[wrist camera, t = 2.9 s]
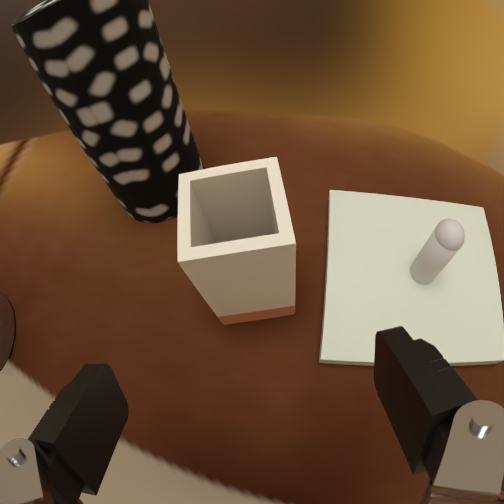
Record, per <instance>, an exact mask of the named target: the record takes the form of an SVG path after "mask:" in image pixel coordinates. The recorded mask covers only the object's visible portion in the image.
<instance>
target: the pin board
mask: <svg viewBox="0 0 504 504" xmlns="http://www.w3.org/2000/svg"><path fill="white" fill-rule="evenodd" d="M398 326H402V327H404V328H405V330H406V331H407V332H408V334H409V335H410V336H411V337H412V339H413V340H416V339H420V338H421V339H423V340H425V341H427V342H428V343H430V344H432V345H434V346H435V347H436V348H437V349H438V351H439V352H440V353H441V354H442V356H443V358H444V359H446V360H447V362H448V363H449V364H450V366H466V365H485V364H496V363H498V362H501V361H504V325H503V314H502V304H501V296H500V288H499V281H498V275H497V269H496V263H495V258H494V252H493V247H492V243H491V238H490V234H489V229H488V225H487V221H486V217H485V213H484V209H483V208H482V207H476V206H469V205H463V204H456V203H448V202H441V201H434V200H426V199H418V198H409V197H400V196H391V195H382V194H372V193H361V192H350V191H338V190H330V193H329V201H328V236H327V259H326V278H325V294H324V308H323V321H322V333H321V344H320V354H319V363H328V364H344V365H365V366H374V358H375V336H376V333H377V331H381V330H386V329H390V328H394V327H398Z"/></svg>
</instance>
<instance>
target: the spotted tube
mask: <svg viewBox="0 0 504 504" xmlns="http://www.w3.org/2000/svg"><path fill="white" fill-rule="evenodd" d="M11 27H12V29H13V31H14V33H15V35H16V37H17V38H18V40H19V42H20V44H21V46H22V48H23V50H24V51H25V53H26V55H27V57H28V59H29V61H30V62H31V64H32V66H33V68H34V70H35V71H36V73H37V75H38V77H39V78H40V80H41V82H42V83H43V85H44V87H45V88H46V90H47V92H48V93H49V95H50V97H51V99H52V100H53V102H54V104H55V105H56V107H57V109H58V110H59V112H60V113H61V115H62V116H63V118H64V120H65V122H66V123H67V125H68V126H69V128H70V129H71V131H72V133H73V134H74V136H75V137H76V139H77V140H78V142H79V143H80V145H81V146H82V148H83V150H84V151H85V153H86V154H87V156H88V157H89V159H90V160H91V162H92V163H93V165H94V166H95V168H96V169H97V170H98V172H99V173H100V175H101V176H102V178H103V179H104V181H105V182H106V184H107V185H108V186H109V188H110V189H111V191H112V192H113V194H114V195H115V196H116V198H117V199H118V201H119V202H120V203H121V205H122V206H123V208H124V209H125V210H126V212H127V213H128V214H129V215H130V216H131V217H133V218H134V219H136V220H138V221H141V222H147V223H154V222H161V221H165V220H168V219H171V218H173V217H176V216H177V215H178V184H179V174H183V173H188V172H193V171H198V170H203V169H204V168H203V165H202V162H201V159H200V156H199V153H198V150H197V147H196V145H195V142H194V139H193V136H192V133H191V130H190V127H189V124H188V121H187V118H186V115H185V112H184V109H183V106H182V103H181V100H180V97H179V94H178V91H177V88H176V85H175V82H174V79H173V76H172V73H171V70H170V67H169V64H168V61H167V58H166V55H165V52H164V49H163V45H162V42H161V39H160V36H159V33H158V30H157V27H156V24H155V20H154V17H153V14H152V11H151V8H150V5H149V1H148V0H43V1H41V2H39V3H38V4H36V5H35V6H33V7H32V8H30V9H29V10H28V11H26V12H25V13H24V14H22V15H21V16H20V17H19V18H17V19H16V20H15V21H14V22H13V23H12V24H11Z"/></svg>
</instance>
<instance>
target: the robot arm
mask: <svg viewBox="0 0 504 504" xmlns="http://www.w3.org/2000/svg"><path fill="white" fill-rule="evenodd" d="M14 330H15V323H14V314H13V310H12V307H11V304H10V302H9V301H8V300H7V298H6V297H4V296H3V295H2V294H0V371H1V370H2V368H3V367H4V365H5V364H6V362H7V360H8V358H9V355H10V352H11V349H12V345H13V340H14ZM374 382H375V387H376V391H377V393H378V396H379V398H380V400H381V402H382V404H383V407H384V409H385V411H386V413H387V415H388V418H389V420H390V422H391V424H392V426H393V429H394V431H395V433H396V436H397V438H398V440H399V442H400V445H401V447H402V449H403V452H404V454H405V456H406V459H407V461H408V463H409V466H410V468H411V470H412V473H413V475H415V474H418V473H421V472H424V471H426V470H427V472H428V475H429V477H430V481H429V483H428V485H427V488H426V490H425V493H424V495H423V498H422V500H421V503H420V504H504V500H500V490H503V491H504V409H503V408H502V407H501V406H500V405H498V404H496V403H494V402H491V401H486V400H477V399H476V397H475V396H474V395H473V393H472V392H471V391H470V389H469V388H468V387H467V386H466V384H465V383H464V382H463V380H462V379H461V378H460V377H459V375H458V374H457V373H456V372H455V370H454V369H453V368H451V367H450V364H449V363H448V362H447V360H446V359H444V358H443V356H442V354H441V353H440V352H439V351H438V349H437V348H436V347H435V346H434V345H432V344H430V343H428V342H427V341H425V340H423V339H421V338H420V339H416V340H413V339H412V337H411V336H410V335H409V334H408V332H407V331H406V330H405V328H404V327H402V326H398V327H394V328H390V329H386V330H381V331H377V333H376V336H375V358H374ZM49 408H50V409H49V410H47V411H46V413H45V414H44V416H43V417H42V419H41V420H40V422H39V423H38V425H37V426H36V428H35V429H34V431H33V433H32V434H31V435H30V437H29V438H28V440H27V439H15V440H12V441H10V442H8V443H7V444H5V445H4V446H3V447H2V448H1V449H0V504H83V502H82V501H81V500H80V499H79V497H80V495H81V492H82V493H87V494H91V495H97V493H98V490H99V488H100V485H101V482H102V480H103V477H104V475H105V472H106V470H107V467H108V465H109V462H110V460H111V457H112V455H113V452H114V450H115V447H116V445H117V442H118V440H119V438H120V435H121V433H122V430H123V428H124V426H125V423H126V421H127V418H128V404H127V401H126V399H125V397H124V395H123V393H122V390H121V388H120V386H119V384H118V382H117V380H116V378H115V375H114V373H113V371H112V369H111V367H110V366H109V365H107V364H86V365H84V366H83V367H82V368H81V370H80V371H79V373H78V374H77V375H76V377H75V378H74V379H73V380H72V381H71V382H70V383H68V384H67V385H66V386H65V387H63V388H62V390H61V391H60V393H59V394H58V395H57V397H56V398H55V401H53V403H52V404H51V406H50V407H49Z"/></svg>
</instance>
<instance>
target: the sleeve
mask: <svg viewBox="0 0 504 504" xmlns="http://www.w3.org/2000/svg"><path fill="white" fill-rule="evenodd" d="M178 263H179V265H180V266H181V267H182V269H183V270H184V272H185V273H186V274H187V276H188V277H189V279H190V280H191V281H192V283H193V284H194V286H195V287H196V288H197V290H198V291H199V293H200V294H201V295H202V297H203V298H204V299H205V301H206V302H207V303H208V305H209V306H210V308H211V309H212V310H213V312H214V313H215V314H216V316H217V317H218V318H219V320H220V321H221V322H222V324H223V325H227V324H234V323H242V322H249V321H256V320H263V319H270V318H276V317H283V316H289V315H295V286H296V242H295V237H294V232H293V227H292V223H291V218H290V213H289V209H288V204H287V200H286V195H285V191H284V186H283V182H282V178H281V173H280V169H279V165H278V160H277V157H273V158H266V159H260V160H254V161H247V162H241V163H236V164H230V165H224V166H219V167H213V168H208V169H203V170H198V171H193V172H188V173H183V174H179V184H178Z"/></svg>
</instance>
